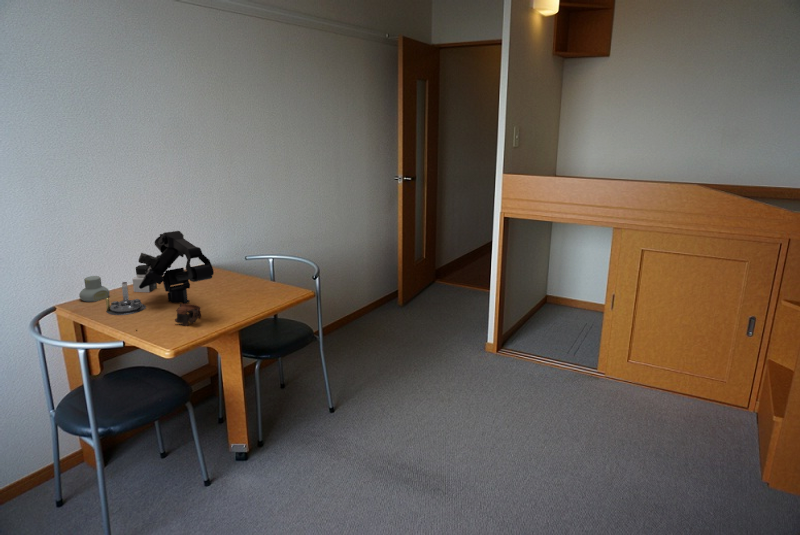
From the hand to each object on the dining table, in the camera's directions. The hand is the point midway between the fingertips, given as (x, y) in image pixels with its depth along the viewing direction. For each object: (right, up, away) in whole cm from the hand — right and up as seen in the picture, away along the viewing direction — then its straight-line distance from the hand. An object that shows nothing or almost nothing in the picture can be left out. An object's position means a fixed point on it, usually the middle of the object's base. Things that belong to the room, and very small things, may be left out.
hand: (139, 287), depth 223 cm
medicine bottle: (-6, -3, +19) cm, 20 cm away
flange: (-3, -9, -5) cm, 11 cm away
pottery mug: (+25, -13, -14) cm, 32 cm away
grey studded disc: (-4, -7, -4) cm, 9 cm away
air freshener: (-22, -6, +7) cm, 23 cm away
